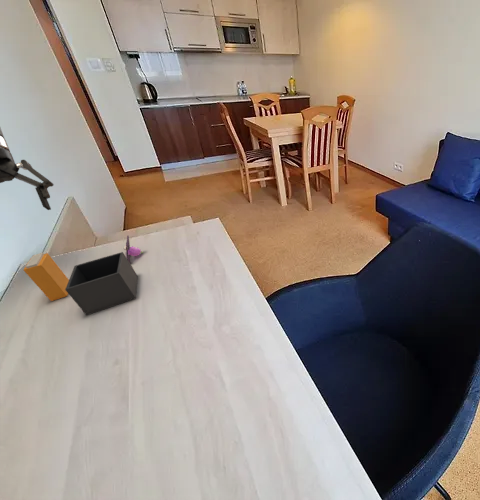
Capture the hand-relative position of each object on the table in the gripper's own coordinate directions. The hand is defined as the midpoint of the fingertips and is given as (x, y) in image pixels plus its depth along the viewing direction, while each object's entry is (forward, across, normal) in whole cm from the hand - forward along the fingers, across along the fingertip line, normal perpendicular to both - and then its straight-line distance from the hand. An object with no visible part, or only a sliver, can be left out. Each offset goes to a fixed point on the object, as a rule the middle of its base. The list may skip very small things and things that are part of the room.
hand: (18, 215), depth 88 cm
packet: (+23, 0, -8) cm, 25 cm away
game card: (+19, -21, -13) cm, 31 cm away
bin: (+32, -14, +1) cm, 35 cm away
